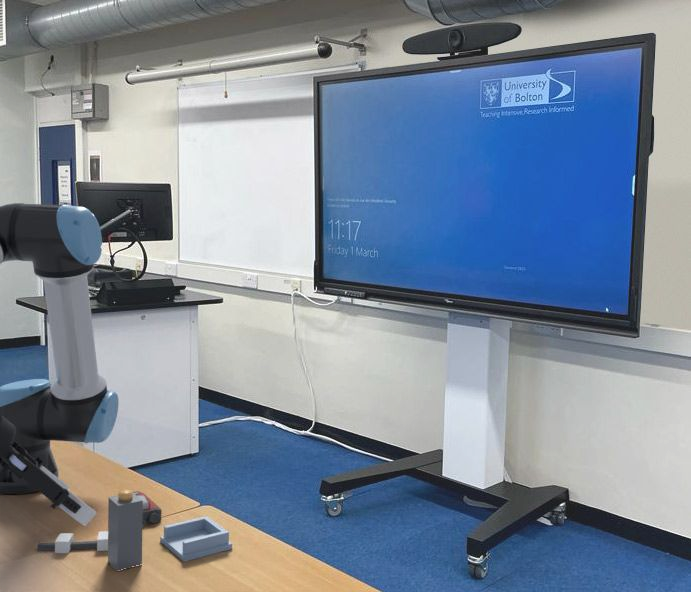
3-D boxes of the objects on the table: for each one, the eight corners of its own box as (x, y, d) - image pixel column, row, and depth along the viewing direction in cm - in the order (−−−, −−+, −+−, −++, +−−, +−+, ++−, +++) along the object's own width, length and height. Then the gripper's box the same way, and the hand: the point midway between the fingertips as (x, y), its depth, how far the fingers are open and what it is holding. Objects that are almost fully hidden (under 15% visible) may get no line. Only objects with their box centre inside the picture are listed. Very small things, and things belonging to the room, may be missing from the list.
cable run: (39, 545, 143) (38, 534, 142) (129, 541, 146) (129, 530, 146) (35, 554, 139) (35, 543, 139) (128, 550, 142) (128, 538, 142)
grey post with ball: (107, 561, 137) (108, 490, 136) (131, 555, 140) (132, 486, 139) (117, 571, 134) (118, 498, 132) (141, 565, 137) (142, 493, 135)
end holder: (160, 541, 146) (160, 525, 146) (207, 530, 153) (207, 514, 152) (183, 561, 139) (183, 544, 138) (232, 548, 145) (232, 532, 144)
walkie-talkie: (100, 509, 161) (133, 545, 145) (101, 489, 161) (133, 523, 145) (141, 502, 166) (177, 536, 150) (141, 482, 166) (177, 514, 150)
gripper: (-55, 430, 128) (38, 499, 138) (-20, 474, 108) (85, 551, 119) (-21, 395, 130) (68, 466, 141) (19, 432, 111) (119, 511, 121)
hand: (76, 505), depth 130 cm, fingers open, 13 cm apart
